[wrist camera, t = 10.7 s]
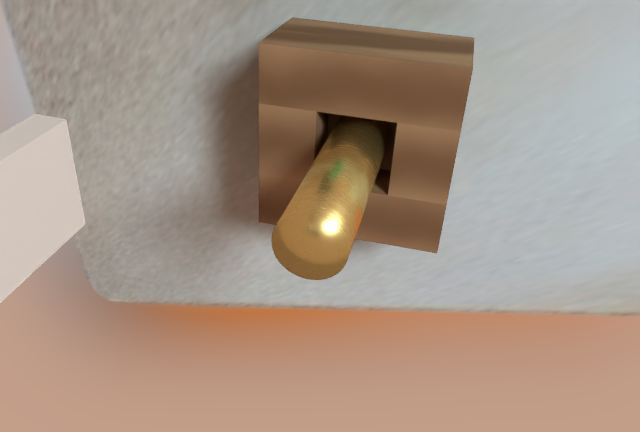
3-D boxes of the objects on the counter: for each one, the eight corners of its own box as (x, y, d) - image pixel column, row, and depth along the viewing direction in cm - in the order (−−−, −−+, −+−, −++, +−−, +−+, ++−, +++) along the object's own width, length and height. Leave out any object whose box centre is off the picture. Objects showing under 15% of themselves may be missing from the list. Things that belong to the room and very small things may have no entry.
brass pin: (337, 102, 37) (271, 206, 25) (393, 110, 37) (352, 220, 25) (334, 153, 39) (271, 272, 27) (386, 161, 38) (345, 286, 27)
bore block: (292, 17, 39) (258, 43, 33) (474, 37, 37) (472, 68, 31) (288, 176, 45) (258, 221, 39) (443, 201, 43) (437, 253, 37)
